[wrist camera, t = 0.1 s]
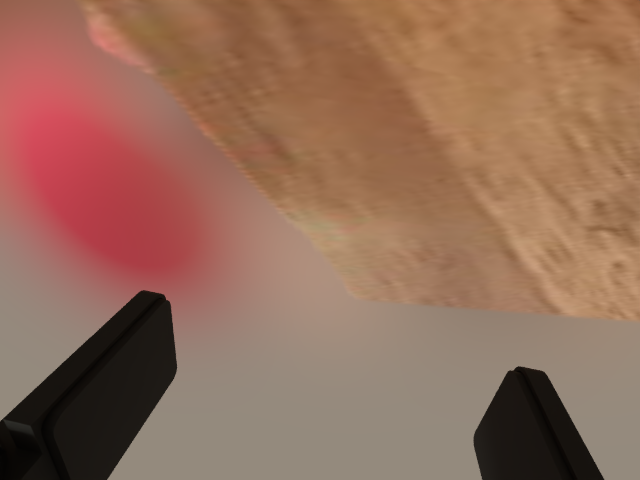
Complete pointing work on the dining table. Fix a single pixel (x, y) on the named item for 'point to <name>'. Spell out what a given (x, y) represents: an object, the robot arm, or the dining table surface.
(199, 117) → the dining table surface
